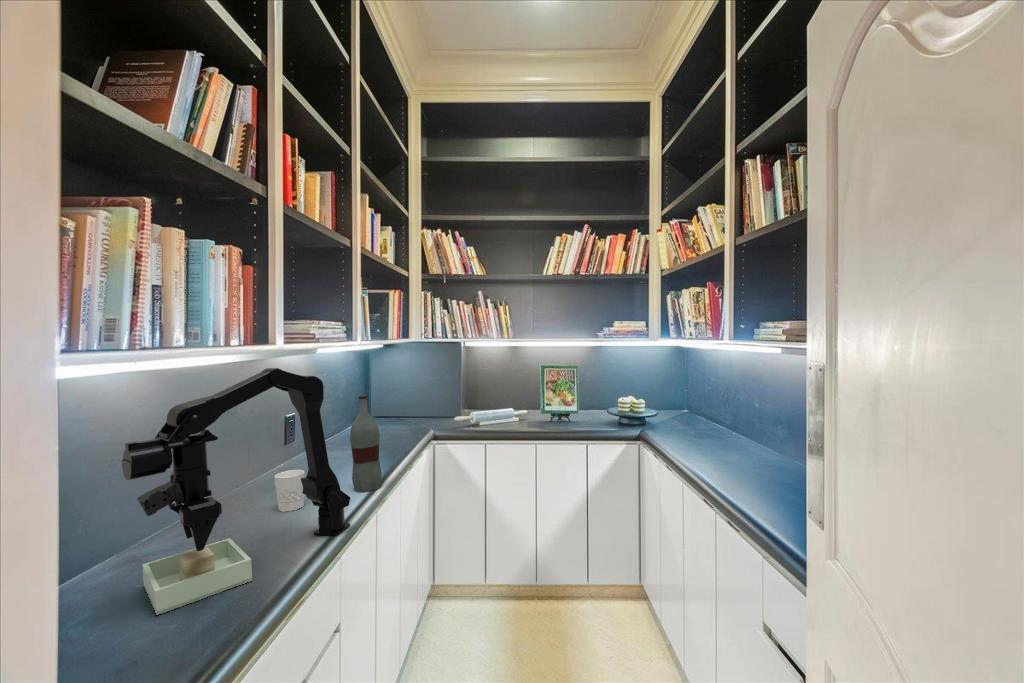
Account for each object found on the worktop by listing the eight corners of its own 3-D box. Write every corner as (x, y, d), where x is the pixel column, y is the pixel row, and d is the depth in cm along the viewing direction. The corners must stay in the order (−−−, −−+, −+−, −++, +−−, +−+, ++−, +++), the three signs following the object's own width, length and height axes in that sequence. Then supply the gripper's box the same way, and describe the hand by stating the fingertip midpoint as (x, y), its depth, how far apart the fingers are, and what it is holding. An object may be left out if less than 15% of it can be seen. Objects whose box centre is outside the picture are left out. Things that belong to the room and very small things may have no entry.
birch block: (209, 570, 98) (208, 547, 98) (215, 579, 95) (214, 554, 95) (180, 580, 95) (179, 556, 95) (185, 589, 91) (184, 563, 91)
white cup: (311, 506, 137) (309, 472, 137) (283, 515, 131) (281, 479, 131) (299, 501, 142) (297, 468, 142) (271, 509, 137) (269, 474, 136)
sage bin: (231, 557, 106) (229, 538, 106) (252, 581, 95) (251, 559, 95) (143, 586, 95) (142, 564, 95) (156, 616, 84) (155, 591, 84)
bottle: (367, 482, 158) (362, 393, 158) (388, 484, 154) (383, 393, 154) (346, 491, 150) (341, 397, 149) (368, 494, 146) (362, 397, 145)
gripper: (133, 468, 95) (137, 544, 96) (147, 486, 82) (152, 574, 82) (198, 456, 103) (202, 527, 103) (220, 471, 90) (224, 551, 90)
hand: (194, 543), depth 95 cm, fingers open, 9 cm apart
